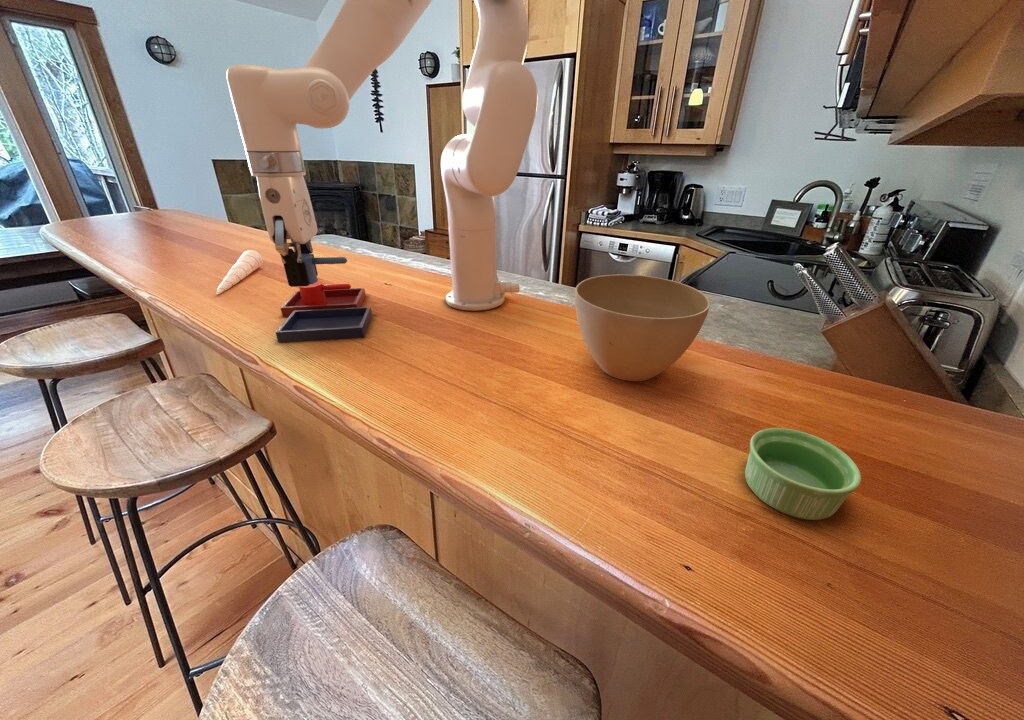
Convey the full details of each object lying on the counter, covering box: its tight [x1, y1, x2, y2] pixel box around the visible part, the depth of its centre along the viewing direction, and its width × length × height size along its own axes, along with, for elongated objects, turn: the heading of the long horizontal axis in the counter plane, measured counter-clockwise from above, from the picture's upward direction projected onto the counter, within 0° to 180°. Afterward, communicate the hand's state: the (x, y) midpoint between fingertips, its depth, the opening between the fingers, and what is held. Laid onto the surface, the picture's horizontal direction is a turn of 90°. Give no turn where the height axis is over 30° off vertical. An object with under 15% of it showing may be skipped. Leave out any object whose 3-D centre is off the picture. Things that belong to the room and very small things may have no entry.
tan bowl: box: [574, 273, 711, 382], centre depth 60 cm, size 18×18×12 cm
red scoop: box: [298, 280, 352, 306], centre depth 85 cm, size 10×4×4 cm, turn 99°
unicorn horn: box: [215, 249, 264, 295], centre depth 100 cm, size 5×24×5 cm, turn 7°
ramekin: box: [744, 427, 862, 521], centre depth 40 cm, size 9×9×4 cm
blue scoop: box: [301, 254, 348, 285], centre depth 71 cm, size 10×4×4 cm, turn 99°
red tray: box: [280, 287, 367, 318], centre depth 86 cm, size 14×10×2 cm
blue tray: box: [275, 306, 373, 343], centre depth 75 cm, size 14×10×2 cm
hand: (303, 280), depth 71 cm, fingers closed on blue scoop, 4 cm apart
